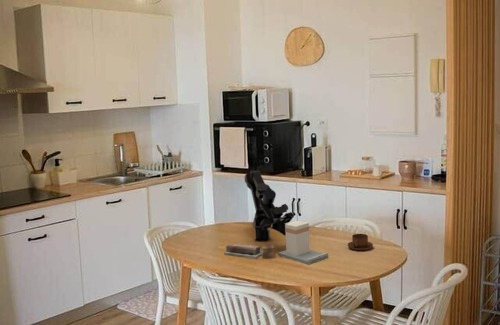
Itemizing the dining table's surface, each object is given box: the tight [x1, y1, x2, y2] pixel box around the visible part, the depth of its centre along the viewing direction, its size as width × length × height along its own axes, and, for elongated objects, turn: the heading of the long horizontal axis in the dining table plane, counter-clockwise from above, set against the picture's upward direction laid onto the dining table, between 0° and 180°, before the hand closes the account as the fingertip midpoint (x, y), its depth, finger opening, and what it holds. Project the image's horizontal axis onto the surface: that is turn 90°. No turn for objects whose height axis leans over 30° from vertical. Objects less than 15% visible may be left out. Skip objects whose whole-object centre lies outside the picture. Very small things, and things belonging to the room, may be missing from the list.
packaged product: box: [223, 242, 263, 260], centre depth 275 cm, size 18×5×10 cm
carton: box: [285, 220, 311, 256], centre depth 269 cm, size 7×9×14 cm
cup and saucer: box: [347, 233, 374, 251], centre depth 275 cm, size 12×12×6 cm
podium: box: [277, 249, 329, 265], centre depth 267 cm, size 20×13×2 cm, turn 40°
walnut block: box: [262, 244, 275, 259], centre depth 269 cm, size 5×5×5 cm
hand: (286, 234), depth 274 cm, fingers closed
